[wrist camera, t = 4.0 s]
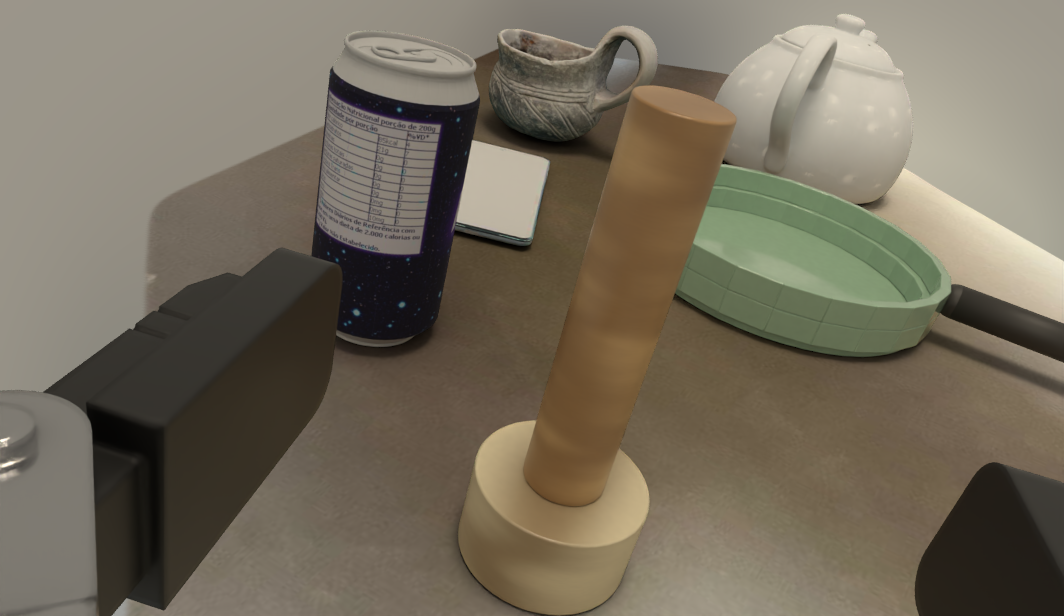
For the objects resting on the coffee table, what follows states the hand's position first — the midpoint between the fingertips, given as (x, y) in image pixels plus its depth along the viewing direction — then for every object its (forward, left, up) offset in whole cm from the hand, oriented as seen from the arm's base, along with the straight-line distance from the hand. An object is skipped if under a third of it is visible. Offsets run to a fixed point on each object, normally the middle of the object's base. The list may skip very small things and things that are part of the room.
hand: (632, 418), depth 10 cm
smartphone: (-19, +36, -14) cm, 43 cm away
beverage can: (-15, +18, -14) cm, 27 cm away
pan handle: (+14, +41, -12) cm, 45 cm away
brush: (-3, +11, -14) cm, 18 cm away
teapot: (-4, +66, -14) cm, 67 cm away
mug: (-21, +51, -14) cm, 57 cm away
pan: (-1, +41, -14) cm, 43 cm away
